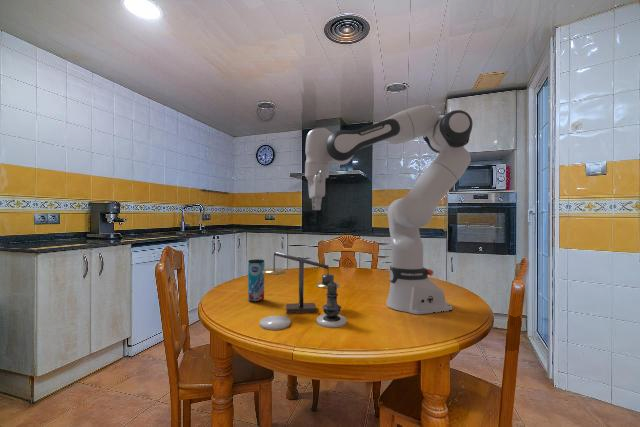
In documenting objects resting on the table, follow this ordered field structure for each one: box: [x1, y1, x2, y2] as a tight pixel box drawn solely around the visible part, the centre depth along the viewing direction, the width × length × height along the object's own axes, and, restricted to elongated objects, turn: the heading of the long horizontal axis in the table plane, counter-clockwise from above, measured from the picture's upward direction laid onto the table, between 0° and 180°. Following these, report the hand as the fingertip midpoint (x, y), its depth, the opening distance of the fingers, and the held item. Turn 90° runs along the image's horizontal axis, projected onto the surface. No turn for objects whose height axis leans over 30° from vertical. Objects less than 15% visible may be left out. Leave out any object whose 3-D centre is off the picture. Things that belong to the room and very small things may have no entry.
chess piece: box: [321, 280, 342, 322], centre depth 94 cm, size 6×6×12 cm
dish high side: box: [259, 315, 291, 331], centre depth 91 cm, size 9×9×1 cm
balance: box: [262, 251, 340, 315], centre depth 104 cm, size 26×8×20 cm, turn 97°
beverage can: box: [247, 259, 265, 303], centre depth 115 cm, size 6×6×15 cm
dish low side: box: [316, 313, 347, 328], centre depth 94 cm, size 9×9×1 cm
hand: (316, 210), depth 114 cm, fingers open, 8 cm apart
